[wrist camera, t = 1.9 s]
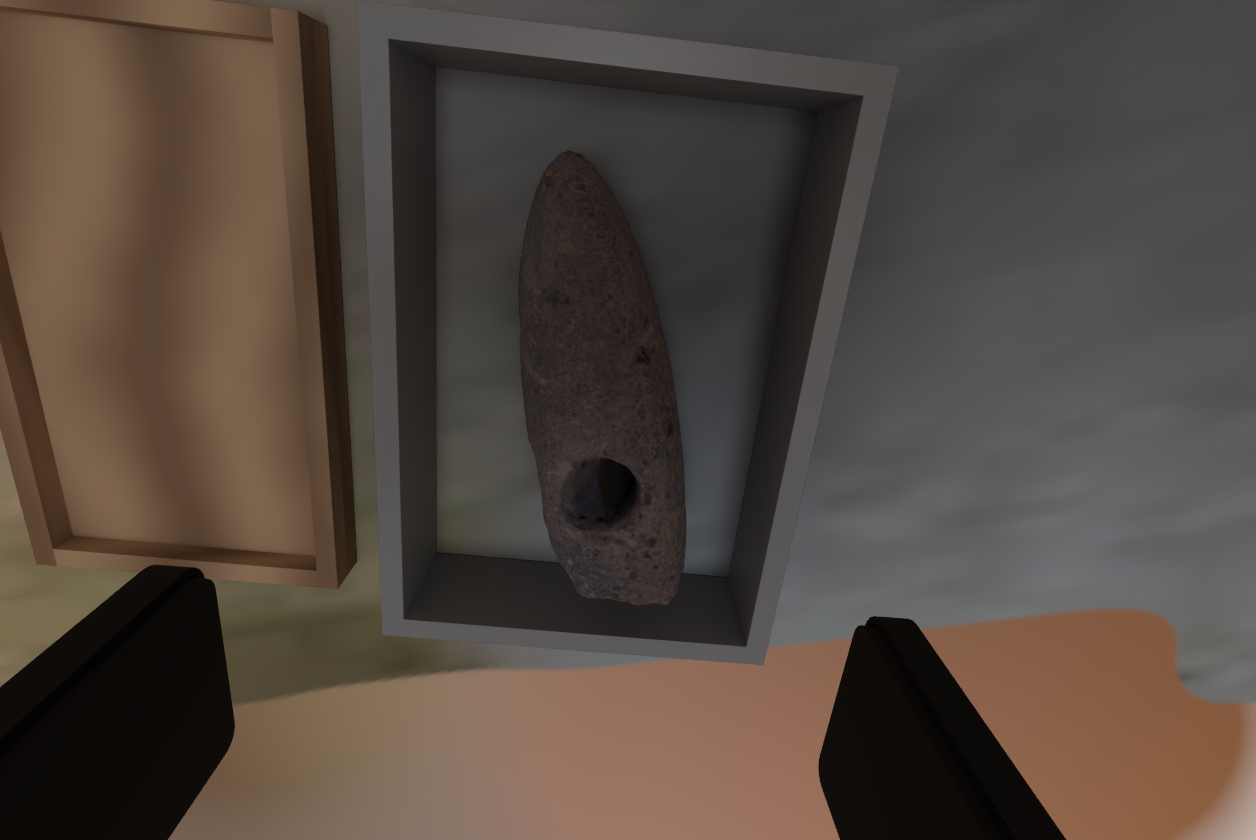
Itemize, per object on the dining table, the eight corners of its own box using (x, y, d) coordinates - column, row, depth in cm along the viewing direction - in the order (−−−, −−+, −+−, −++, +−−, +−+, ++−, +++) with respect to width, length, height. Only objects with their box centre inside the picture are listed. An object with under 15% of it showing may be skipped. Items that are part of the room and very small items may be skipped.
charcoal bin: (845, 88, 21) (899, 66, 17) (742, 593, 29) (763, 665, 25) (410, 36, 21) (356, -1, 17) (418, 566, 28) (382, 635, 24)
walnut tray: (327, 25, 21) (297, 10, 19) (356, 561, 28) (337, 589, 26) (-56, -21, 20) (-125, -41, 18) (76, 538, 27) (36, 564, 26)
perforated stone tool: (505, 160, 22) (457, 153, 16) (654, 144, 22) (666, 131, 16) (562, 529, 28) (544, 638, 21) (682, 519, 28) (701, 624, 21)
